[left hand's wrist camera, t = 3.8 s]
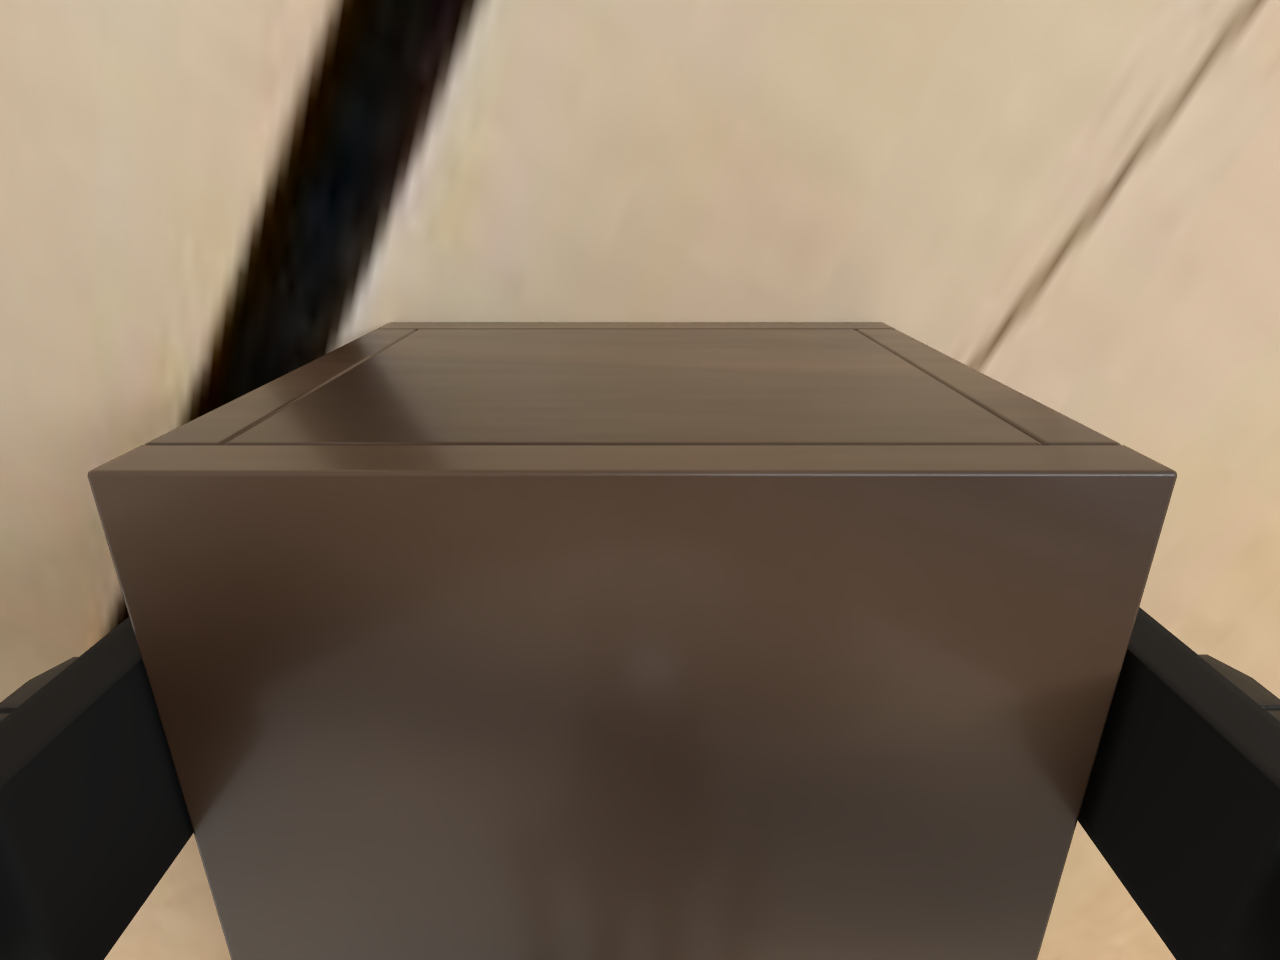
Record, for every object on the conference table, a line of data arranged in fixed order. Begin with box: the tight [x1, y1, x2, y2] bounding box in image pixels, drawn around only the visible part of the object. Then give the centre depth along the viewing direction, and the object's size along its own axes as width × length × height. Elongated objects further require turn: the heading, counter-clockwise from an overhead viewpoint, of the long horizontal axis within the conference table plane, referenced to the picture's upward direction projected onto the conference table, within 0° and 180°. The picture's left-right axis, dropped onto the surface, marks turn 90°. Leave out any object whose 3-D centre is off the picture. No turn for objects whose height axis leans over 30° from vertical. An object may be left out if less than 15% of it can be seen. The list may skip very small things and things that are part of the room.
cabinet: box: [88, 322, 1177, 960], centre depth 16 cm, size 22×11×10 cm, turn 0°
